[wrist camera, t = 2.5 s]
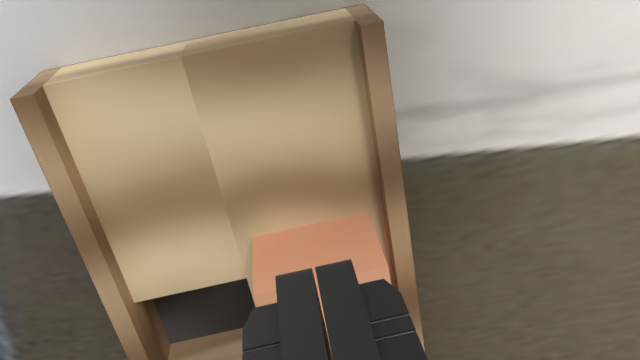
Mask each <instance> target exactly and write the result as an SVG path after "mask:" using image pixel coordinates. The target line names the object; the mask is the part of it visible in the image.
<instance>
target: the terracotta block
mask: <svg viewBox="0 0 640 360" xmlns="http://www.w3.org/2000/svg"><path fill="white" fill-rule="evenodd" d="M349 259H351V260H352V263H353V267H354V270H355V273H356V277H357V280H358V283H359V284H362V283H366V282H371V281H375V280H380V279H385V280H386V281H387V282H388V283H390V284H391V280H390V273H389V267H388V264H387V261H386V259H385V256H384V254H383V251H382V249H381V246H380V243H379V241H378V238H377V236H376V233H375V230H374V228H373V225H372V223H371V220H370V218H369V215H368V212H365V213H360V214H355V215H351V216H346V217H342V218H337V219H332V220H328V221H323V222H319V223H314V224H310V225H305V226H300V227H296V228H291V229H287V230H282V231H277V232H273V233H268V234H264V235H259V236H255V237H252V268H253V298H254V301H255V304H256V307H259V306H264V305H268V304H273V303H277V294H276V281H275V276H277V275H282V274H286V273H291V272H295V271H300V270H304V269H309V268H312V270H313V274H314V279H315V283H316V287H317V292H318V296H319V300H320V305H321V309H322V313H323V318H324V322H325V317H324V312H323V307H322V301H321V296H320V291H319V286H318V281H317V275H316V270H315V267H317V266H322V265H326V264H331V263H335V262H340V261H344V260H349ZM325 326H326V322H325ZM326 331H327V327H326ZM327 335H328V333H327ZM328 340H329V338H328ZM329 345H330V343H329ZM330 349H331V348H330Z"/></svg>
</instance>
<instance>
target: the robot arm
mask: <svg viewBox="0 0 640 360" xmlns="http://www.w3.org/2000/svg"><path fill="white" fill-rule="evenodd" d="M315 270H316V275H317V281H318V286H319V291H320V296H321V301H322V307H323V312H324V317H325V322H326V326H325V322H324V318H323V313H322V309H321V305H320V300H319V296H318V292H317V287H316V283H315V279H314V274H313V270H312V268H309V269H304V270H300V271H295V272H291V273H286V274H282V275H277V276H275V281H276V294H277V303H273V304H268V305H264V306H259V307H255V308H253V310H252V312H251V313H250V315H249V317H248V319H247V321H246V323H245V325H244V327H243V331H242V351H243V354H242V360H428V359H427V356H426V354H425V351H424V349H423V346H422V344H421V341H420V339H419V336H418V334H417V333H416V329H415V326H414V324H413V322H412V319H411V317H410V315H409V312H408V309H407V307H406V304H405V302H404V299H403V297H402V294H401V293H400V292H399V291H398V290H397V289H396V288H394V287H393V286H392V285H391V284H390V283H388V282H387V281H386V280H385V279H380V280H375V281H371V282H366V283H362V284H359V283H358V280H357V277H356V273H355V270H354V267H353V263H352V260H351V259H349V260H344V261H340V262H335V263H331V264H326V265H322V266H317V267H315ZM326 327H327V331H326ZM327 333H328V335H327ZM328 338H329V340H328ZM329 343H330V345H329ZM330 348H331V349H330Z"/></svg>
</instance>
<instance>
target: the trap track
mask: <svg viewBox="0 0 640 360" xmlns="http://www.w3.org/2000/svg"><path fill="white" fill-rule="evenodd" d="M10 101H11V103H12V105H13V107H14V110H15V112H16V114H17V116H18V118H19V121H20V123H21V125H22V127H23V129H24V132H25V134H26V136H27V138H28V140H29V143H30V145H31V147H32V149H33V151H34V153H35V156H36V158H37V160H38V162H39V164H40V167H41V169H42V171H43V173H44V175H45V178H46V180H47V182H48V184H49V186H50V189H51V191H52V193H53V195H54V197H55V199H56V202H57V204H58V206H59V208H60V210H61V213H62V215H63V217H64V219H65V221H66V224H67V226H68V228H69V230H70V232H71V235H72V237H73V239H74V241H75V243H76V245H77V248H78V250H79V252H80V254H81V256H82V259H83V261H84V263H85V265H86V267H87V270H88V272H89V274H90V276H91V278H92V281H93V283H94V285H95V287H96V289H97V291H98V294H99V296H100V298H101V300H102V302H103V305H104V307H105V309H106V311H107V313H108V316H109V318H110V320H111V322H112V324H113V327H114V329H115V331H116V333H117V335H118V337H119V340H120V342H121V344H122V346H123V348H124V351H125V353H126V355H127V357H128V359H129V360H242V354H243V351H242V331H243V327H244V325H245V323H246V321H247V319H248V317H249V315H250V313H251V312H252V310H253V308H255V307H256V304H255V301H254V298H253V268H252V237H255V236H259V235H264V234H268V233H273V232H277V231H282V230H287V229H291V228H296V227H300V226H305V225H310V224H314V223H319V222H323V221H328V220H332V219H337V218H342V217H346V216H351V215H355V214H360V213H365V212H368V215H369V218H370V220H371V223H372V225H373V228H374V230H375V233H376V236H377V238H378V241H379V243H380V246H381V249H382V251H383V254H384V256H385V259H386V261H387V264H388V267H389V273H390V280H391V285H392V286H393V287H394V288H396V289H397V290H398V291H399V292H400V293H401V294H402V297H403V299H404V302H405V304H406V307H407V309H408V312H409V315H410V317H411V319H412V322H413V324H414V326H415V329H416V333H417V334H418V336H419V339H420V341H421V344H422V346H423V349H424V341H423V333H422V325H421V317H420V310H419V302H418V294H417V286H416V278H415V270H414V262H413V254H412V246H411V238H410V230H409V222H408V214H407V207H406V199H405V191H404V183H403V175H402V167H401V159H400V151H399V143H398V135H397V127H396V119H395V111H394V104H393V96H392V88H391V80H390V72H389V64H388V56H387V48H386V40H385V32H384V24H383V20H381V19H380V18H379V17H378V16H377V15H376V14H375V13H374V12H373V11H372V10H370V9H369V8H368V7H367V6H366V5H365V4H361V5H356V6H351V7H346V8H342V9H337V10H332V11H327V12H322V13H318V14H313V15H308V16H303V17H299V18H294V19H289V20H284V21H279V22H275V23H270V24H265V25H260V26H255V27H251V28H246V29H241V30H236V31H232V32H227V33H222V34H217V35H212V36H208V37H203V38H198V39H193V40H188V41H184V42H179V43H174V44H169V45H165V46H160V47H155V48H150V49H145V50H141V51H136V52H131V53H126V54H122V55H117V56H112V57H107V58H102V59H98V60H93V61H88V62H83V63H78V64H74V65H69V66H64V67H59V68H55V69H50V70H45V71H42V72H41V73H40V74H38V75H37V76H36V77H35V78H34V79H33V80H31V81H30V82H29V83H28V84H27V85H26V86H25V87H23V88H22V89H21V90H20V91H19V92H18V93H17V94H15V95H14V96H13V97H12V98H11V99H10ZM424 351H425V349H424Z"/></svg>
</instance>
